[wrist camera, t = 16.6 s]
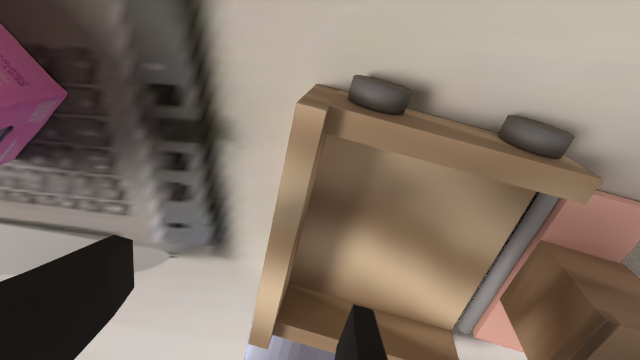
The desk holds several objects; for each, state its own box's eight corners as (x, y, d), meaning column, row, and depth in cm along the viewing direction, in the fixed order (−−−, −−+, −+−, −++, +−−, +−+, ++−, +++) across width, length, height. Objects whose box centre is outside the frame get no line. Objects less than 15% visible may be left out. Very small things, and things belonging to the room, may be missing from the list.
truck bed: (435, 341, 23) (451, 416, 19) (269, 293, 23) (245, 355, 19) (563, 128, 16) (640, 165, 11) (321, 63, 16) (301, 75, 12)
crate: (574, 322, 19) (642, 421, 14) (498, 299, 19) (540, 389, 14) (625, 263, 17) (726, 356, 12) (539, 238, 17) (605, 320, 12)
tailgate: (455, 320, 22) (533, 344, 22) (458, 332, 21) (540, 357, 21) (544, 175, 17) (647, 204, 17) (553, 183, 16) (662, 213, 16)
